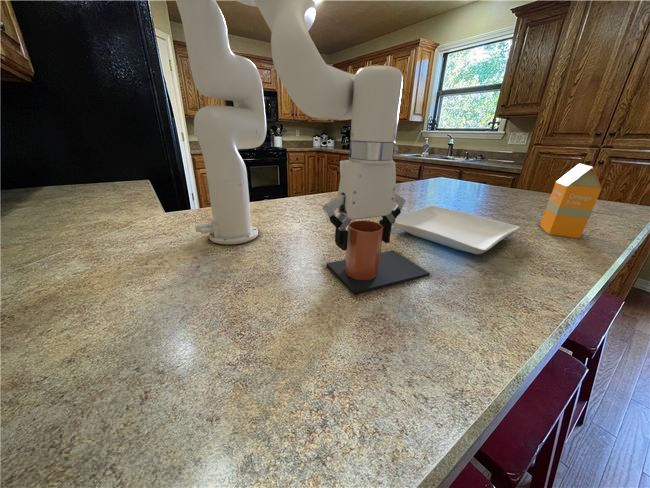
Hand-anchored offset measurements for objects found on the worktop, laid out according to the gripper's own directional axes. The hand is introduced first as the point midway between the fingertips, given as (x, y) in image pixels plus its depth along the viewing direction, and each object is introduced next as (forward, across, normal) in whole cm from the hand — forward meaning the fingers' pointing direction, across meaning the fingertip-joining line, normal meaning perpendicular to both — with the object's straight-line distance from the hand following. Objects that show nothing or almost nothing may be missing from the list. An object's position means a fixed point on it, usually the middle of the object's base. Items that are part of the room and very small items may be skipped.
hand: (362, 243), depth 53 cm
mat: (+7, -4, 0) cm, 8 cm away
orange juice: (+7, -71, +1) cm, 71 cm away
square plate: (+7, -37, -10) cm, 39 cm away
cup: (+6, 0, 0) cm, 6 cm away
